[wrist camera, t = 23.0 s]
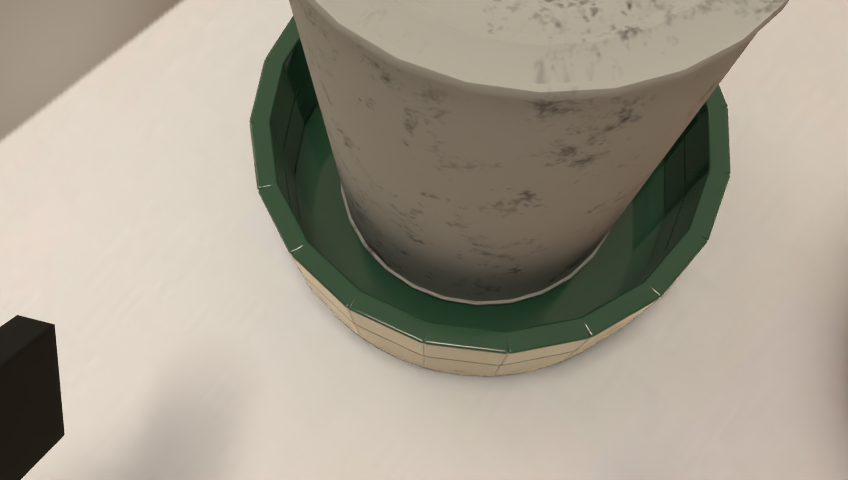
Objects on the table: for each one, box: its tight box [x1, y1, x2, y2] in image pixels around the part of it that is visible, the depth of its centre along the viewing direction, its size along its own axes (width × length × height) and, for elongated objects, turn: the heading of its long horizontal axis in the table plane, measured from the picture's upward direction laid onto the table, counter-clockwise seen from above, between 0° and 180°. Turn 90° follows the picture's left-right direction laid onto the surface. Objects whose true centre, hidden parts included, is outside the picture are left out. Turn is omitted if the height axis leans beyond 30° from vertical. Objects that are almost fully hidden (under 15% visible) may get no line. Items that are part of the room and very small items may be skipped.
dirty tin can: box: [289, 0, 789, 306], centre depth 17 cm, size 10×10×12 cm
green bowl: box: [250, 15, 730, 376], centre depth 21 cm, size 14×14×4 cm
